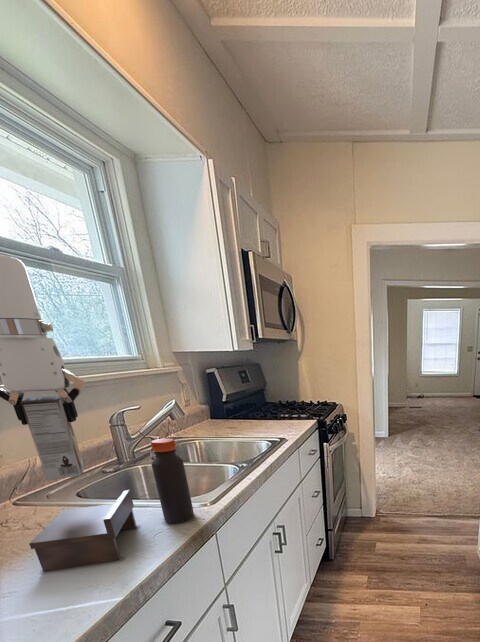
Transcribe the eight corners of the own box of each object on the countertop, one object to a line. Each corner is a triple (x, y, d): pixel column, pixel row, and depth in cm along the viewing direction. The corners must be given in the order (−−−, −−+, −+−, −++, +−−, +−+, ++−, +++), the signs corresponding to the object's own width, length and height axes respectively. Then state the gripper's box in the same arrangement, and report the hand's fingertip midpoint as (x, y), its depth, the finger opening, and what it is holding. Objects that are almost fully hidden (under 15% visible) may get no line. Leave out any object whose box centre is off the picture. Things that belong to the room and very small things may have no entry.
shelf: (40, 571, 78) (23, 529, 74) (71, 534, 94) (58, 497, 90) (122, 559, 82) (110, 518, 79) (139, 525, 98) (129, 489, 94)
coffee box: (50, 470, 90) (25, 396, 84) (84, 465, 94) (63, 395, 88) (46, 480, 83) (19, 401, 77) (83, 475, 87) (60, 399, 80)
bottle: (181, 511, 106) (165, 436, 98) (200, 515, 103) (185, 438, 95) (158, 521, 100) (139, 442, 92) (177, 526, 97) (159, 445, 90)
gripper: (79, 331, 83) (102, 417, 90) (-27, 330, 78) (7, 422, 85) (67, 329, 77) (93, 422, 84) (-49, 329, 71) (-11, 428, 78)
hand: (50, 421), depth 84 cm, fingers closed on coffee box, 7 cm apart
